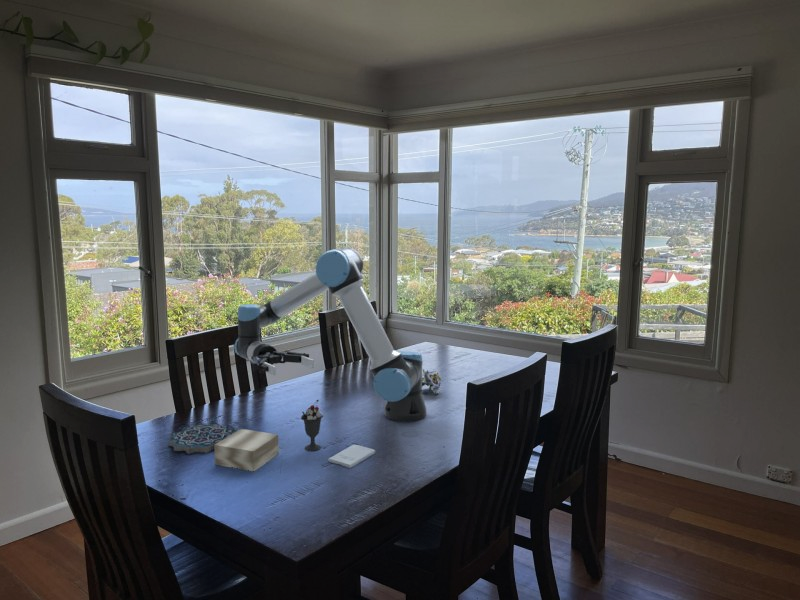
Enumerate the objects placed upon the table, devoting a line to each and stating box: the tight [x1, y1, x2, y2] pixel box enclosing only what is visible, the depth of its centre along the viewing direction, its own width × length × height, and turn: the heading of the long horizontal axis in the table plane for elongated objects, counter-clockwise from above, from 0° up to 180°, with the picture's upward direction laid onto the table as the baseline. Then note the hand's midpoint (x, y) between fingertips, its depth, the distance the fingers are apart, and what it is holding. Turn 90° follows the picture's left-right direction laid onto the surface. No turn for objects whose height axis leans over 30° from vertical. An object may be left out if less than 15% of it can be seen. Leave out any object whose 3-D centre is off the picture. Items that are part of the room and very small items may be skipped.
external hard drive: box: [327, 444, 376, 469], centre depth 172 cm, size 2×8×12 cm
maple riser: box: [214, 428, 280, 472], centre depth 169 cm, size 13×13×6 cm
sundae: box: [300, 399, 324, 452], centre depth 177 cm, size 7×7×15 cm
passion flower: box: [422, 368, 442, 395], centre depth 233 cm, size 11×11×12 cm
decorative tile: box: [168, 422, 238, 455], centre depth 183 cm, size 20×20×2 cm
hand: (294, 367), depth 182 cm, fingers open, 13 cm apart
